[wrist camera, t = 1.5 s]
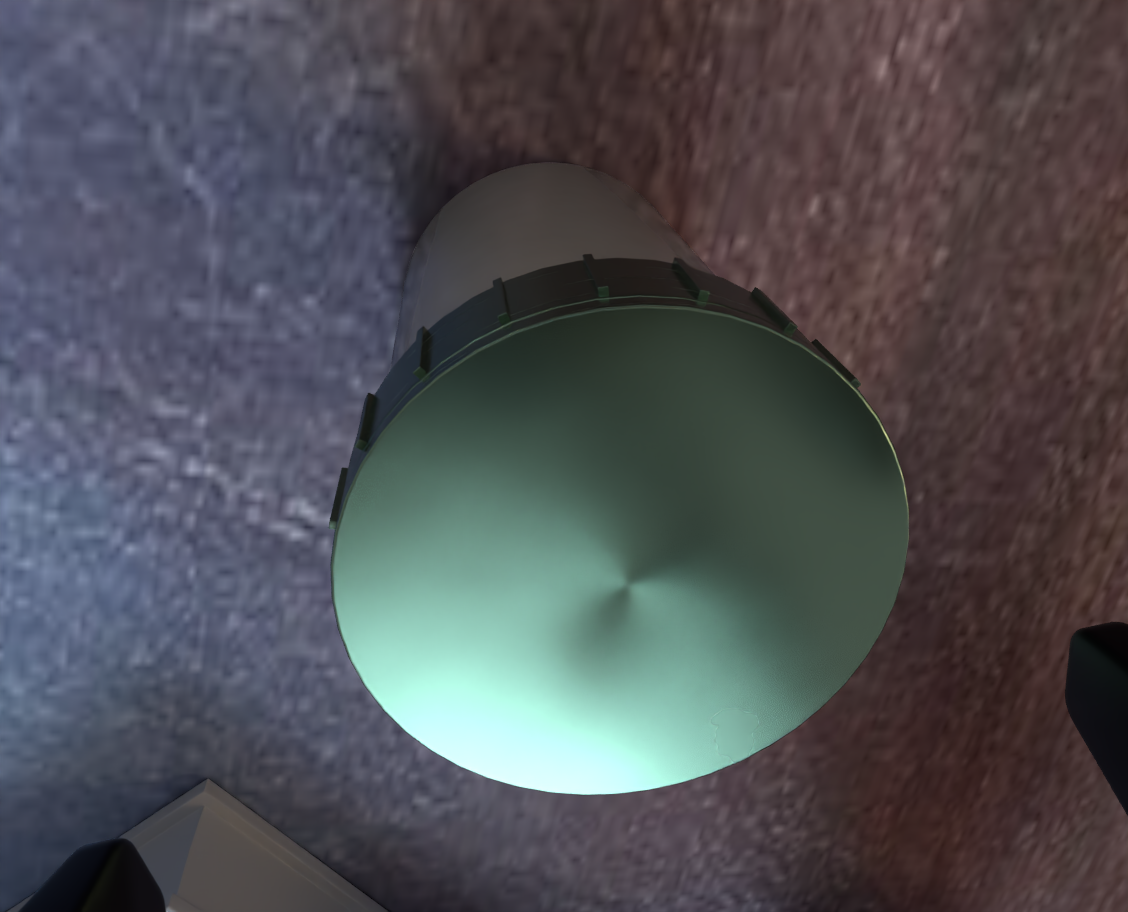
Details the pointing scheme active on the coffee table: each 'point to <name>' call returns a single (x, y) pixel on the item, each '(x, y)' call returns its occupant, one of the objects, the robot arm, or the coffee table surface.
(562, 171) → the jar
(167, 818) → the book
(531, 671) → the jar lid
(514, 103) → the coffee table surface
